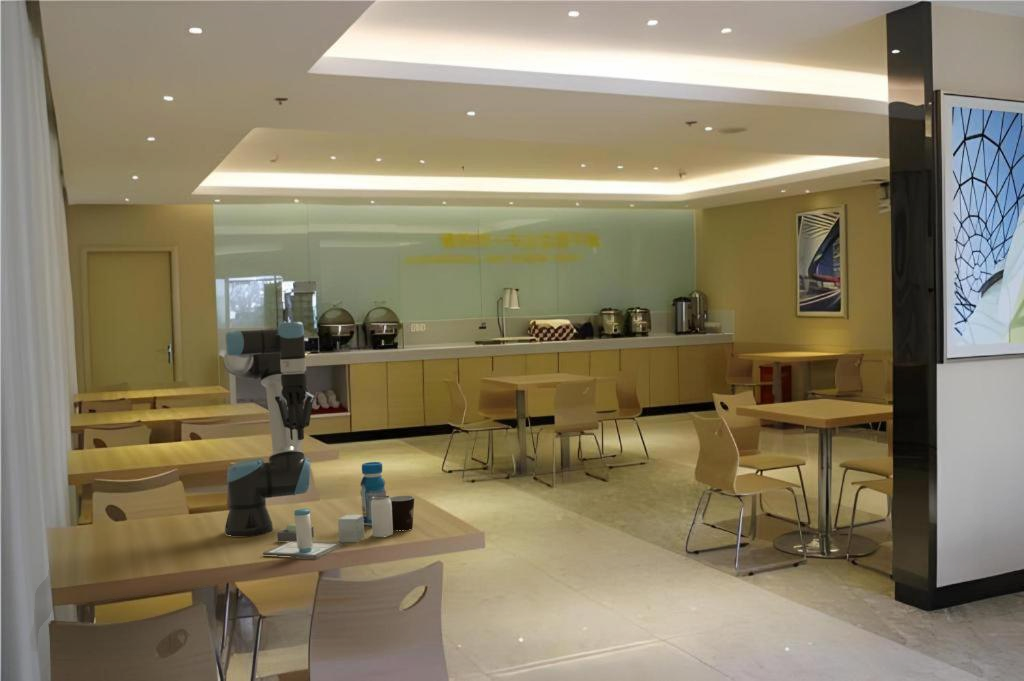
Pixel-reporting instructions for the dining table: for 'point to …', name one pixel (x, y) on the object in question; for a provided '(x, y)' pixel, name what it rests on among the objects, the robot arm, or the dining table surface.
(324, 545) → the picture board
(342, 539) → the product box
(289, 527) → the button
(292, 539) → the button box
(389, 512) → the can
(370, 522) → the beverage bottle
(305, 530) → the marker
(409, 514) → the coffee mug
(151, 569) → the dining table surface
